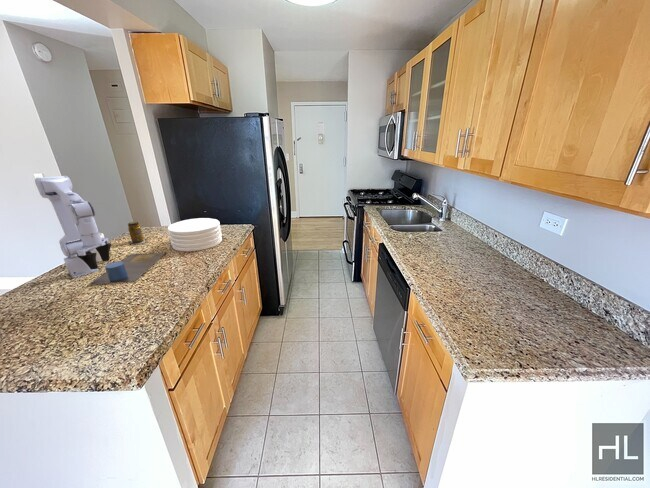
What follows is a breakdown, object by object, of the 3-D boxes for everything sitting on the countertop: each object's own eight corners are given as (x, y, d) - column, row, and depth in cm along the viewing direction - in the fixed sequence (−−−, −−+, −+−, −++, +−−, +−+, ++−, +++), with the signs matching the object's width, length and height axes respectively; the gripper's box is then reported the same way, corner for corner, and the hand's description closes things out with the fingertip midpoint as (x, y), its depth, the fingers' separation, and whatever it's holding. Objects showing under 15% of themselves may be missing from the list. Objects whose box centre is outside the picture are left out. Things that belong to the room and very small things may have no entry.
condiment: (144, 238, 164) (139, 220, 160) (145, 242, 158) (140, 223, 154) (130, 241, 160) (124, 222, 156) (131, 245, 154) (125, 226, 150)
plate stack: (231, 237, 168) (228, 219, 163) (201, 253, 143) (197, 234, 138) (195, 233, 175) (192, 216, 170) (160, 248, 150) (155, 229, 145)
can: (112, 282, 112) (107, 269, 110) (107, 278, 116) (102, 265, 114) (129, 276, 117) (125, 264, 115) (124, 272, 121) (120, 260, 119)
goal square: (147, 261, 133) (147, 261, 133) (128, 262, 132) (128, 262, 132) (155, 254, 141) (155, 254, 141) (138, 255, 140) (138, 255, 140)
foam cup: (108, 254, 142) (101, 231, 137) (113, 258, 136) (105, 235, 131) (86, 259, 135) (77, 236, 130) (90, 264, 129) (81, 240, 125)
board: (134, 282, 114) (134, 281, 114) (89, 284, 111) (89, 284, 111) (166, 253, 143) (165, 252, 143) (130, 255, 141) (130, 254, 141)
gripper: (87, 239, 95) (99, 272, 100) (112, 227, 108) (121, 256, 113) (66, 240, 94) (79, 273, 99) (93, 228, 107) (103, 257, 112)
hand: (100, 264), depth 106 cm, fingers open, 7 cm apart
